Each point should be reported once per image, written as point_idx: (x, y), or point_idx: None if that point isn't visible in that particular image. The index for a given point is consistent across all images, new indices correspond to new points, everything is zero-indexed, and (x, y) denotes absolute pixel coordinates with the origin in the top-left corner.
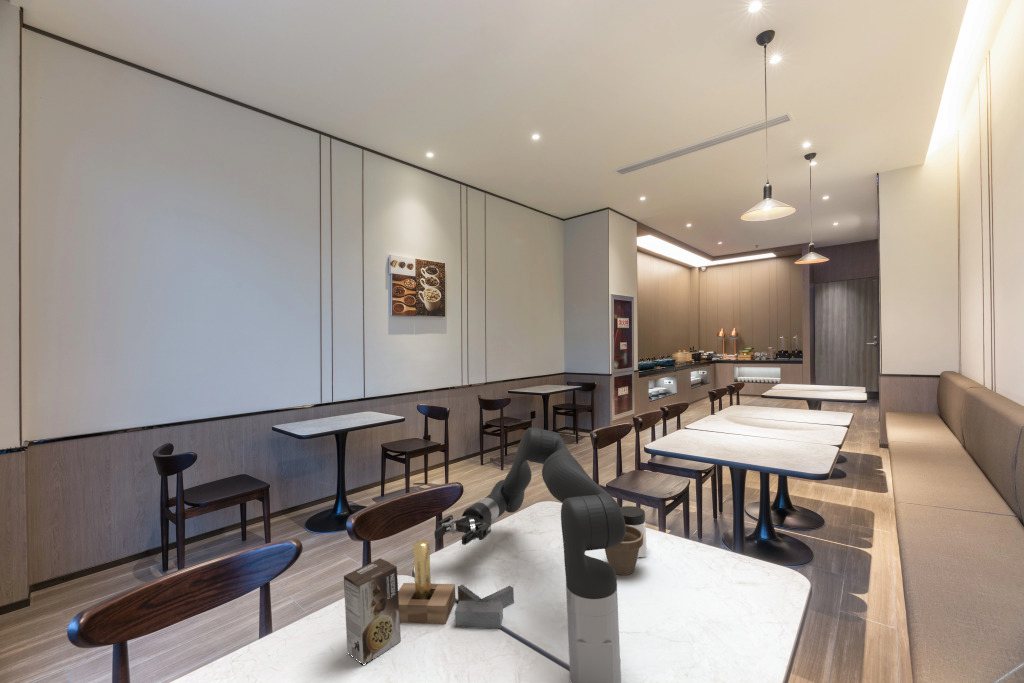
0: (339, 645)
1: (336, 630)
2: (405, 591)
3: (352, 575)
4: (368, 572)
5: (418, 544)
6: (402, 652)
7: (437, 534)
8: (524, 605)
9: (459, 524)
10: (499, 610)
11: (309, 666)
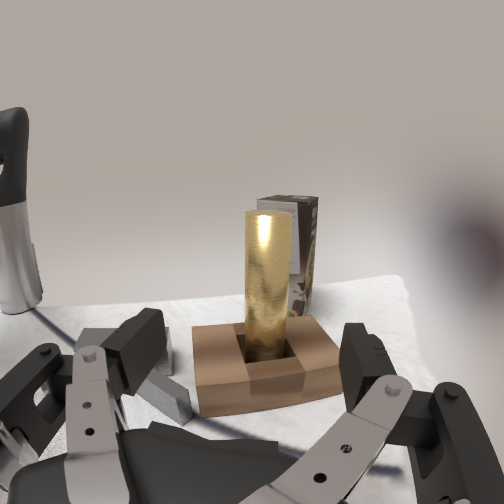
0: (333, 306)
1: (367, 317)
2: (315, 343)
3: (306, 196)
4: (289, 196)
5: (271, 211)
6: (238, 312)
7: (342, 340)
8: (36, 400)
9: (248, 442)
10: (83, 331)
11: (331, 288)
